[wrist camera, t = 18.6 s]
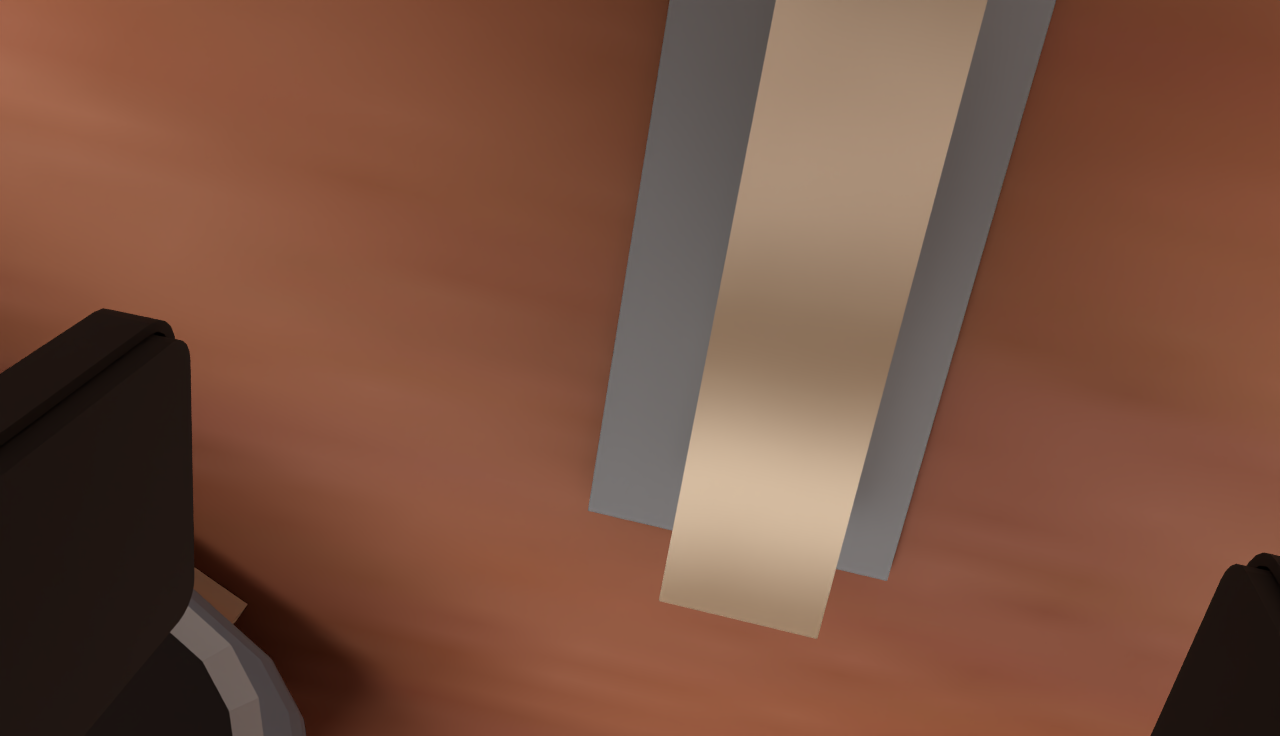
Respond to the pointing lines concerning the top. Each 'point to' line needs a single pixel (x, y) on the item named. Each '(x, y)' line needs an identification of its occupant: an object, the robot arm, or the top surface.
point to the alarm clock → (204, 680)
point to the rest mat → (698, 241)
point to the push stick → (813, 297)
